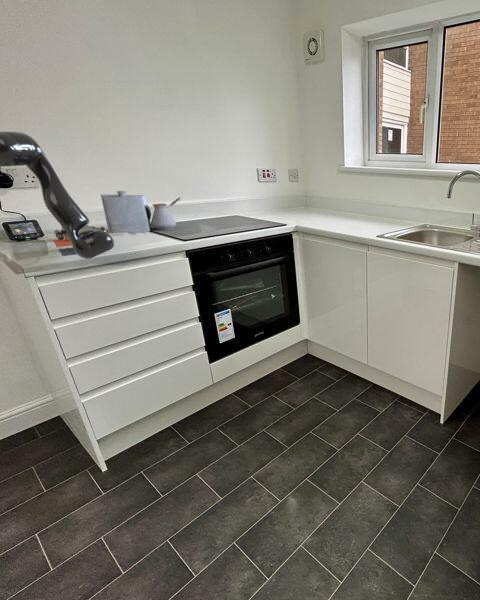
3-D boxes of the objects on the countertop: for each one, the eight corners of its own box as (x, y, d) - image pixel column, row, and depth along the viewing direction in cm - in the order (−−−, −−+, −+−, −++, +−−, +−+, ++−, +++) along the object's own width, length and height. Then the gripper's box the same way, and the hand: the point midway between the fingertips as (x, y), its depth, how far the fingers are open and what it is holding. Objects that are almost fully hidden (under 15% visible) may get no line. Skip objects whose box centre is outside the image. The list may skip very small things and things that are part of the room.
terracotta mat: (57, 248, 141) (57, 247, 141) (53, 241, 152) (52, 240, 152) (101, 243, 151) (101, 242, 151) (94, 237, 162) (94, 236, 162)
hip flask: (149, 230, 181) (140, 190, 174) (151, 231, 178) (141, 190, 171) (111, 233, 171) (99, 190, 164) (111, 234, 169) (100, 191, 161)
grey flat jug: (154, 228, 187) (147, 194, 180) (151, 230, 182) (143, 194, 176) (112, 228, 182) (103, 193, 175) (107, 230, 177) (98, 194, 171)
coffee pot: (166, 231, 180) (160, 201, 174) (146, 230, 181) (139, 200, 176) (194, 225, 200) (190, 197, 194) (176, 223, 201) (171, 196, 196)
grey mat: (62, 256, 131) (61, 254, 131) (58, 250, 139) (58, 249, 138) (109, 250, 141) (108, 249, 141) (103, 245, 148) (103, 244, 148)
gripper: (107, 223, 128) (99, 218, 138) (55, 228, 118) (50, 221, 129) (113, 244, 131) (104, 237, 141) (62, 249, 121) (57, 242, 131)
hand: (78, 230), depth 135 cm, fingers open, 8 cm apart
